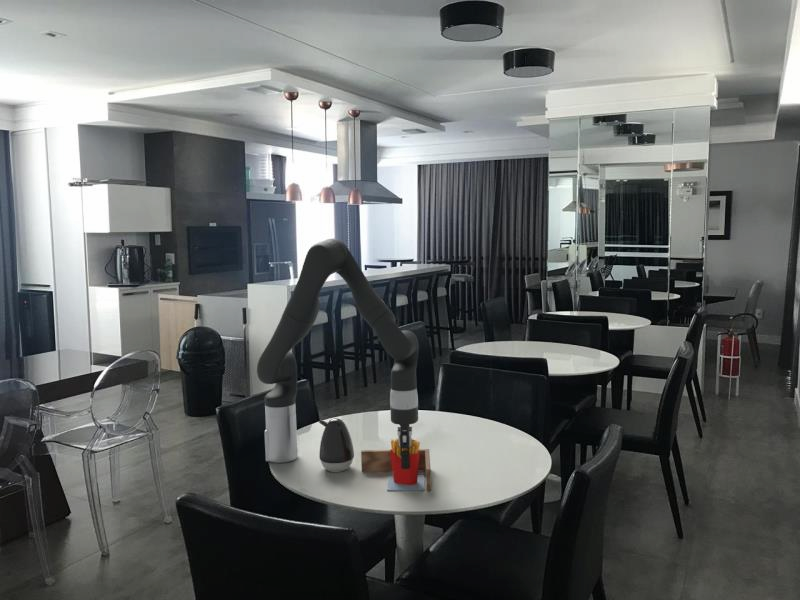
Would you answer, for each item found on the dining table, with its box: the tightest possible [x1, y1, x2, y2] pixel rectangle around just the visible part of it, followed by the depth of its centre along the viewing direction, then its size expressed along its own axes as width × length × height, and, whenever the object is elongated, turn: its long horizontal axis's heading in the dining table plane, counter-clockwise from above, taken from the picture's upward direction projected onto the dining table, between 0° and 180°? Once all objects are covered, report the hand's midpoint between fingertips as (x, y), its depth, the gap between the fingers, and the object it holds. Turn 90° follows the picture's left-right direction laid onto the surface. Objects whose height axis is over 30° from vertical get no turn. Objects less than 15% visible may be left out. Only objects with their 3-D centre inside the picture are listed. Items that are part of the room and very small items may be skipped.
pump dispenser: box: [318, 417, 355, 473], centre depth 193 cm, size 10×10×15 cm
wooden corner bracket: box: [360, 448, 432, 492], centre depth 184 cm, size 20×16×6 cm
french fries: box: [389, 438, 421, 485], centre depth 181 cm, size 8×4×12 cm, turn 68°
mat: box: [386, 474, 426, 492], centre depth 182 cm, size 10×10×1 cm
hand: (405, 464), depth 181 cm, fingers open, 5 cm apart
